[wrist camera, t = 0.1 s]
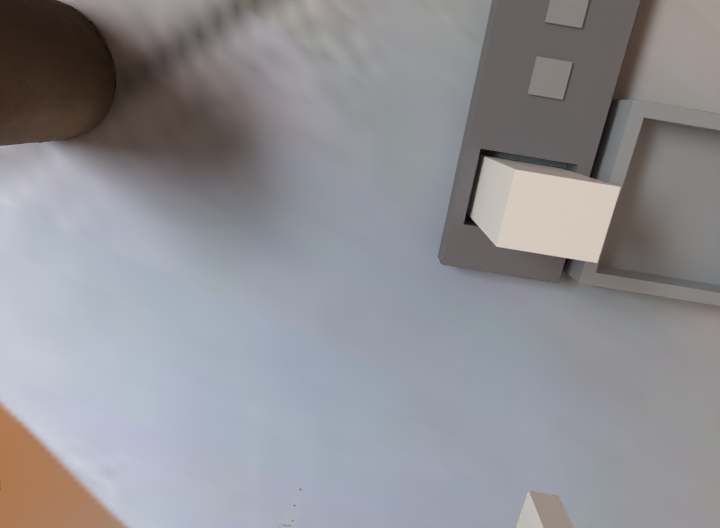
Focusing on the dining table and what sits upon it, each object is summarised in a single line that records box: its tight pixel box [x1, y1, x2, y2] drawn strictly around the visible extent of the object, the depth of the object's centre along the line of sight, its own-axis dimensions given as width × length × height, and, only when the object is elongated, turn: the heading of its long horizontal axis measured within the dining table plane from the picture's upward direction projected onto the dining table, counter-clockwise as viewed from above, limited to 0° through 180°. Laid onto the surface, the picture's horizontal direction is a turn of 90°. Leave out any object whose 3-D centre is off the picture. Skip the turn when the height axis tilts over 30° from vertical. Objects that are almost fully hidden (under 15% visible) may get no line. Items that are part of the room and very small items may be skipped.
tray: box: [564, 99, 720, 306], centre depth 37 cm, size 13×13×3 cm
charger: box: [467, 155, 621, 263], centre depth 34 cm, size 4×6×10 cm
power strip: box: [438, 0, 640, 283], centre depth 36 cm, size 24×9×3 cm, turn 171°
